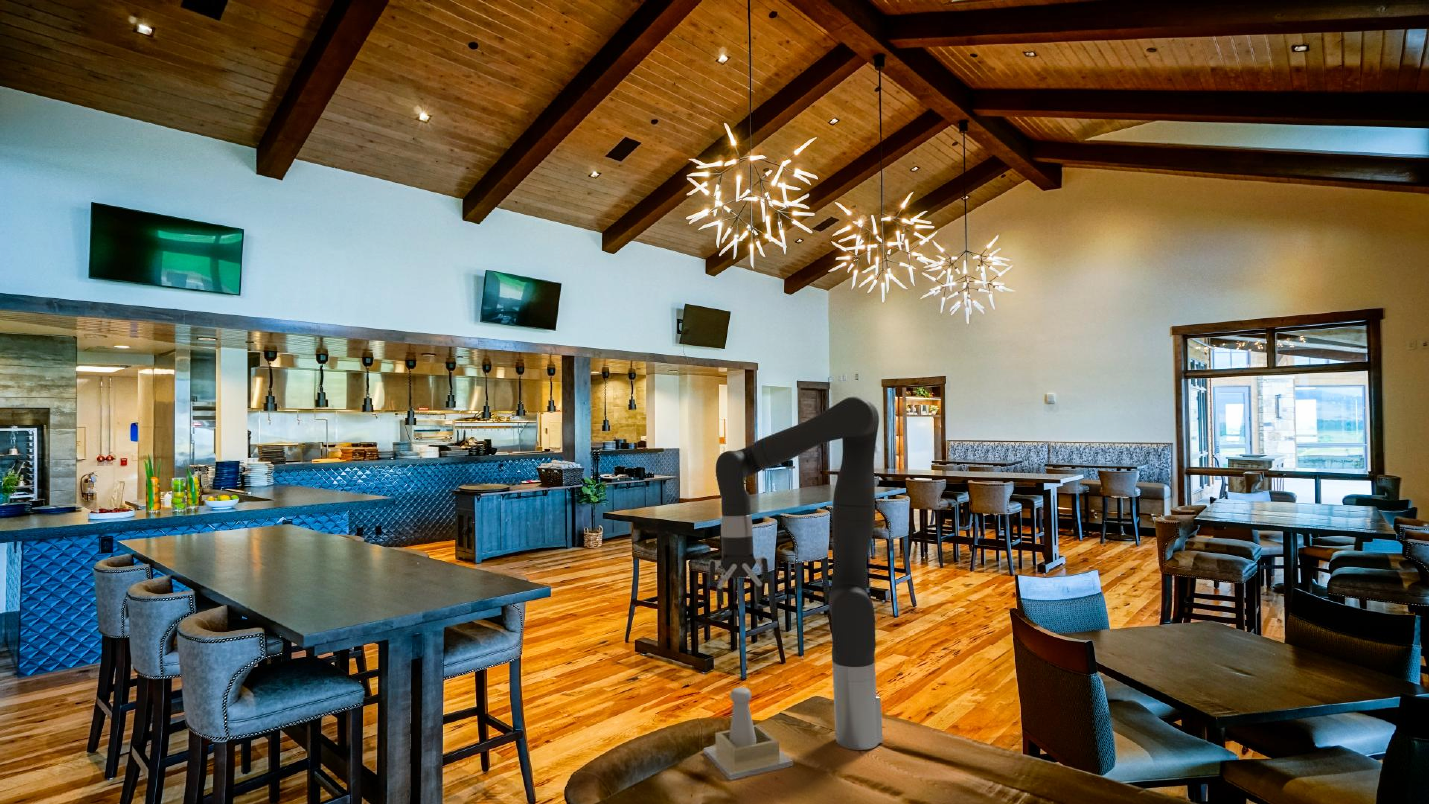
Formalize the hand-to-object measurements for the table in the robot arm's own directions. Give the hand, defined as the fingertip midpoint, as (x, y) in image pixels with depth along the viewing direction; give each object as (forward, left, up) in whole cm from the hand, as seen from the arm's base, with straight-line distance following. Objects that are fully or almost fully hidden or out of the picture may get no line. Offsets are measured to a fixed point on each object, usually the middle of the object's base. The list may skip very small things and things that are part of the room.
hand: (739, 603), depth 166 cm
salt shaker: (+8, +16, -27) cm, 33 cm away
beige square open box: (+7, +17, -28) cm, 34 cm away
